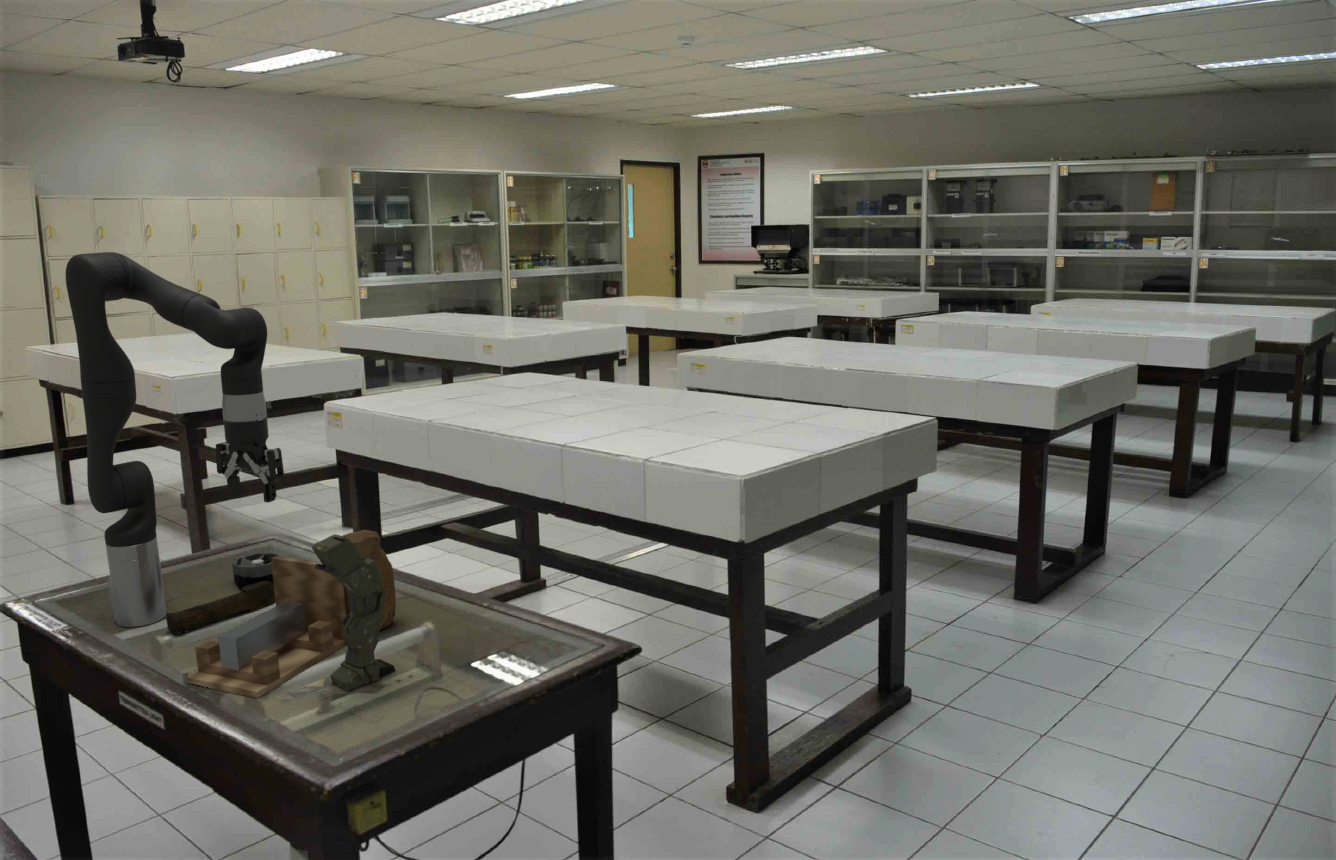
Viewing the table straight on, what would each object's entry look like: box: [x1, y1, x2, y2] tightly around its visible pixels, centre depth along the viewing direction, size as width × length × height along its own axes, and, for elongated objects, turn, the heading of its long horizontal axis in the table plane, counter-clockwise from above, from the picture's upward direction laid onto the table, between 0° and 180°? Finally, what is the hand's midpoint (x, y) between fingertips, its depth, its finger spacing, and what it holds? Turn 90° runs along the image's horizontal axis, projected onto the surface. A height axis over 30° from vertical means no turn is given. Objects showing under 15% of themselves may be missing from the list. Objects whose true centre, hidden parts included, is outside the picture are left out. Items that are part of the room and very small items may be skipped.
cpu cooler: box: [231, 552, 281, 591], centre depth 221 cm, size 10×6×10 cm
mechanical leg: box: [311, 533, 396, 692], centre depth 170 cm, size 13×7×29 cm, turn 140°
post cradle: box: [186, 556, 347, 699], centre depth 178 cm, size 16×24×16 cm
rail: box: [217, 601, 307, 670], centre depth 178 cm, size 4×17×6 cm, turn 159°
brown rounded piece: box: [342, 529, 397, 632], centre depth 193 cm, size 11×8×20 cm
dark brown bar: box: [165, 581, 276, 636], centre depth 200 cm, size 23×5×6 cm, turn 138°
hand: (252, 498), depth 184 cm, fingers open, 8 cm apart
